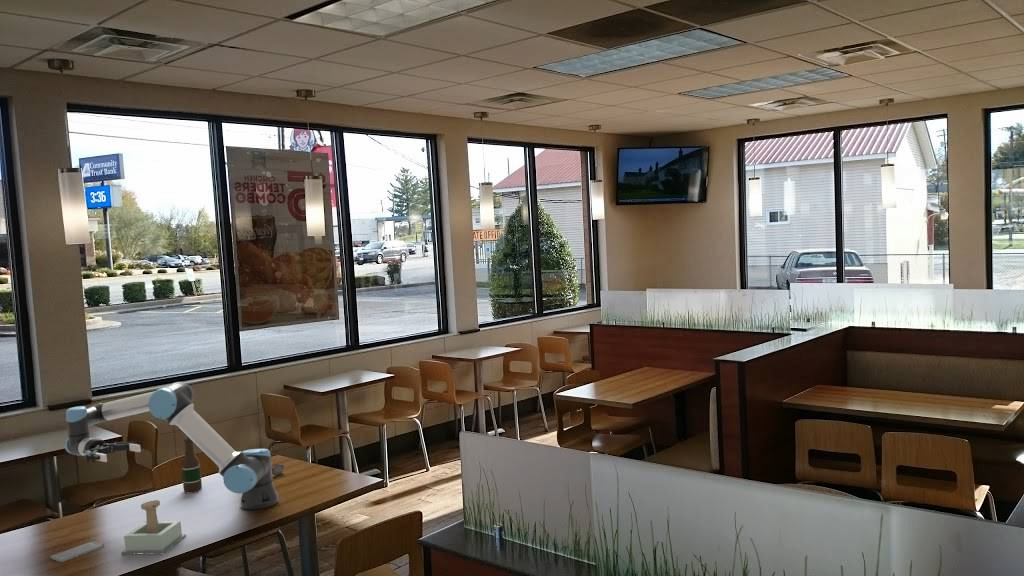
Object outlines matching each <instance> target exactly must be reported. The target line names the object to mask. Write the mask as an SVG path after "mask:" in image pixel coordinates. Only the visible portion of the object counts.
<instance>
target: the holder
mask: <svg viewBox="0 0 1024 576" xmlns="http://www.w3.org/2000/svg"><path fill="white" fill-rule="evenodd" d="M158 526H159V533H147V521H144V522H143V523H142V524H141V523H140V525H138V526H137V527H135V528H134V529H133V530H131V531H129V532H128V533H126V534H125V535H124V536H123V538H124V539H123V541H124V549H123V550H122V551H120V552H121V553H120V554H130V555H138V554H137V553H164V554H166V553H167V552H168V551H169V550H171V549H172V548H173V547H174V546H176V545H177V544H178V543H179V542H178V541H180V540H181V539H182V540H184V539H185V538H186V537H187V534H186V533H182V521H181V520H168V521H167V520H164V521H162V520H161V521H158ZM185 536H186V537H185ZM184 537H185V538H184ZM183 538H184V539H183ZM182 540H181V541H182ZM181 541H180V542H181ZM177 542H178V543H177ZM176 543H177V544H176ZM175 544H176V545H175ZM172 546H173V547H172ZM171 547H172V548H171ZM170 548H171V549H170ZM168 549H169V550H168ZM167 550H168V551H167ZM166 551H167V552H166ZM134 553H135V554H134Z"/></svg>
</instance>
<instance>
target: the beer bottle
mask: <svg viewBox="0 0 1024 576" xmlns="http://www.w3.org/2000/svg"><path fill="white" fill-rule="evenodd" d="M183 442H184V457H183V459H182V462H181V474H182V475H181V476H182V485H183V491H185V492H184V493H186V492H192V493H196V492H195V491H197V492H199V491H198V490H200V491H201V489H202V488H203V485H202V472H201V464H200V463H201V462H200V459H199V457H198V456H197V455H196V454H195V449H194V448H195V447H194V445H193V444H194V442H193V441H192V440H191V439H190V438H189V437H188V436H187V437H185V438H184V439H183Z"/></svg>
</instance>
